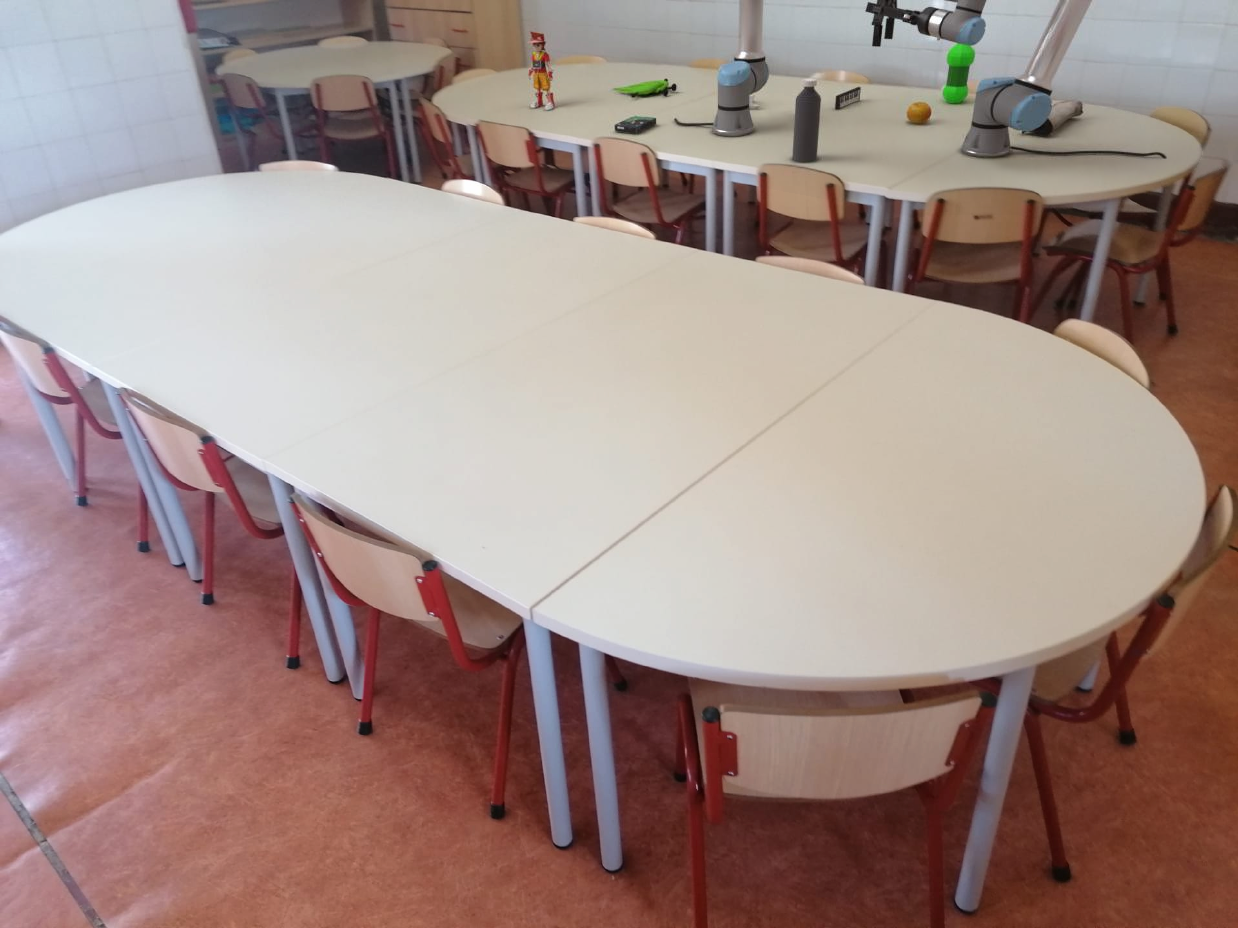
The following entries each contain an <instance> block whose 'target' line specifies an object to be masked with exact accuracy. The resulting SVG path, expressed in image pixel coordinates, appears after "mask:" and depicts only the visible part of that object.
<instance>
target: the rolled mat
mask: <svg viewBox="0 0 1238 928" xmlns="http://www.w3.org/2000/svg"><path fill="white" fill-rule="evenodd" d="M1083 114H1084V110H1083V102H1082V101H1081V100H1075V99H1074V100H1066V101H1065V100H1064V101H1059V102H1055V103H1053V105H1052V110H1051V113H1050V115H1049V117H1048V118H1047V120H1046V121H1045V122H1044V123H1043V124H1042V125H1041V126H1040V127H1038V128H1036V129H1034V130H1032V131H1021V135H1024V134H1026V133H1033V134H1034V135H1035V136H1038V137H1043V138H1044V137H1045V138H1046V137H1049V136H1050V135H1052V134H1053V133H1054V132H1055V131H1056V130H1057V129H1058V128H1059V127H1060V126H1061V125H1063V124H1064V123H1065V122H1066V121H1067V120H1069V119H1070V118H1075V117H1080V116H1082V115H1083Z"/></svg>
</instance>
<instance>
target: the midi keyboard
mask: <svg viewBox="0 0 1238 928" xmlns="http://www.w3.org/2000/svg"><path fill="white" fill-rule="evenodd" d="M861 88H862V87H861V86H857V87H854V88H852V89H849V90H847V91H844V92H842V93H839V94H837V95H835V103H834V109H835V110H839V109H841V108H843V107H846V106H848V105H850V104H853V103H855V102H857V101H860V100H861V91H862V90H861Z"/></svg>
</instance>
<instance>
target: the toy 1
mask: <svg viewBox="0 0 1238 928" xmlns="http://www.w3.org/2000/svg"><path fill="white" fill-rule="evenodd" d="M529 33H530V35H531V36H528V37H527V38H528V39H529V40H528V41H527V43H529V44H530V43H531V44H532V48H533V50H534V51H533V52H532V55H531V58H530V59H531V63H530V66H528V74H527V75H528V76H527V77H528V79H529V80H531V75H532V74H533V84H532V85H533V86H532V87H533V88H534V89H535V90H536V92H534V95H535V97H536V100H535V101H533V102H531V105H530V108H531V109H535V108H538V107H542V106H544V101H543V100H544V99H543V95H544V92H546V94H545V97H546V99H547V103H546V104H545V106H544V110H546V111H549V110H553V109H554V107H555V106H556V105H555V99H554V92H551V91H550V90H551V86H552V84H551V82H552V81H553V80H554V77H553V73H554V71H555V70H554V69H552V68H551V63H550V61H551V59H550V58H551V57H550V54H549V53H548V52H547V50H546V48H545V46H546V44H547V41H545V35H544V33H543V32H542V33H539V32H535V31H529Z"/></svg>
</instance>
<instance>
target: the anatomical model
mask: <svg viewBox="0 0 1238 928" xmlns="http://www.w3.org/2000/svg"><path fill="white" fill-rule="evenodd" d="M755 97H756V95H755V94H751V95H750V97H749V109H758V108H759V107H760V105H759V104H758V103H754V101H755V99H754V98H755Z"/></svg>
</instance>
